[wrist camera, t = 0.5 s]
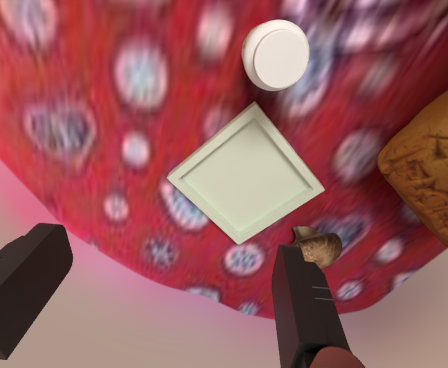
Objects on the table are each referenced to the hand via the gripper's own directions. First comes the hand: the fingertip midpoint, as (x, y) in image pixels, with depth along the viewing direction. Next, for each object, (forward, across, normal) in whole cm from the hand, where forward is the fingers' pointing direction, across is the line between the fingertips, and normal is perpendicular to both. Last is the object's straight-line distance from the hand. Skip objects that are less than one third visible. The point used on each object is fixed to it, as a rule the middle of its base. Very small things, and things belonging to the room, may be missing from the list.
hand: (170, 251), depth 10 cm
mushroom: (+24, -14, +18) cm, 34 cm away
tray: (+24, -4, +9) cm, 26 cm away
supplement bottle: (+24, -5, -5) cm, 25 cm away
